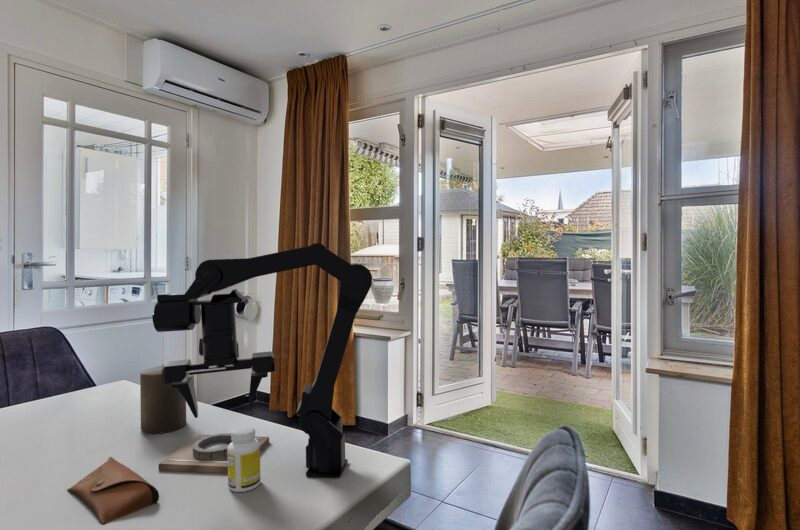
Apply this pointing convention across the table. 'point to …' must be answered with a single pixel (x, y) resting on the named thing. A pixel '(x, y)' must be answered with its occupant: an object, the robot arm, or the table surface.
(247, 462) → the supplement bottle
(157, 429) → the pillar candle
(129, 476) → the sunglasses case
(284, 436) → the table surface
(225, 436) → the brown board with ring
